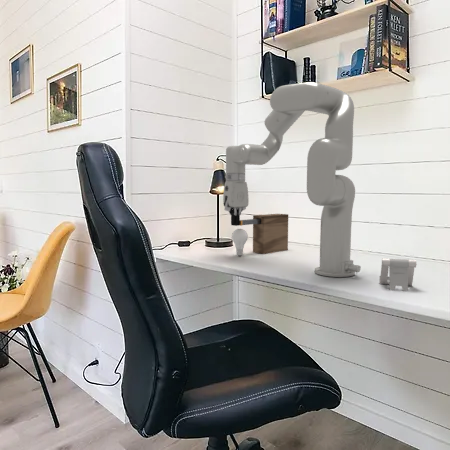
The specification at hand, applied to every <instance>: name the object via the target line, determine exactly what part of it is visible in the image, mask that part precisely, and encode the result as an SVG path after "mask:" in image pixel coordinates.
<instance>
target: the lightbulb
mask: <svg viewBox="0 0 450 450" xmlns="http://www.w3.org/2000/svg"><path fill="white" fill-rule="evenodd" d="M248 235H249V234H248V233H247V230H245V229H243V228H237V229H235V230H234V231H232V234H231V240H232V242H233V243H234V247H235V249H236V252H235V255H236V256H237V257H241V256H243V255H244V248H245V244H246V242H247V241H248V239H249V238H248Z"/></svg>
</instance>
